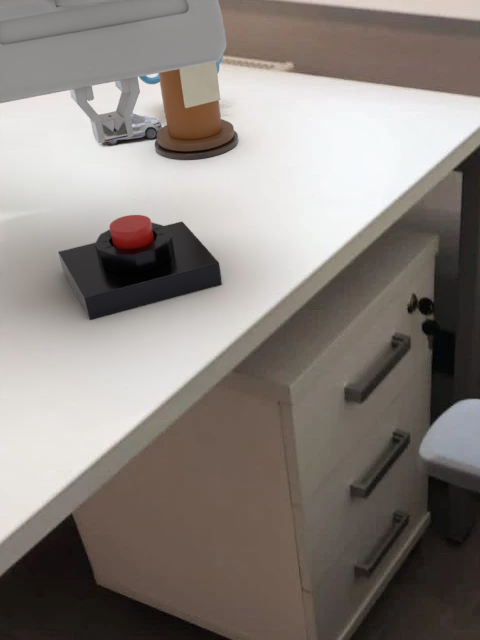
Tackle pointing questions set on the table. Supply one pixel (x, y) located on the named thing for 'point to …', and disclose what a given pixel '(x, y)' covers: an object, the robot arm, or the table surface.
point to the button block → (139, 270)
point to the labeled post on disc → (192, 110)
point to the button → (131, 232)
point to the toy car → (142, 127)
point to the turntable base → (197, 154)
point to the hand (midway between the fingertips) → (114, 138)
